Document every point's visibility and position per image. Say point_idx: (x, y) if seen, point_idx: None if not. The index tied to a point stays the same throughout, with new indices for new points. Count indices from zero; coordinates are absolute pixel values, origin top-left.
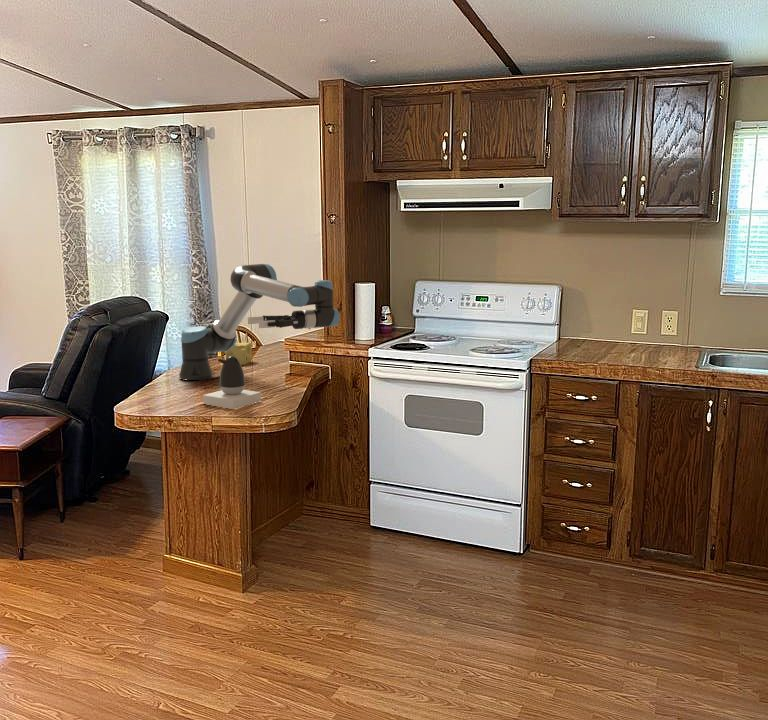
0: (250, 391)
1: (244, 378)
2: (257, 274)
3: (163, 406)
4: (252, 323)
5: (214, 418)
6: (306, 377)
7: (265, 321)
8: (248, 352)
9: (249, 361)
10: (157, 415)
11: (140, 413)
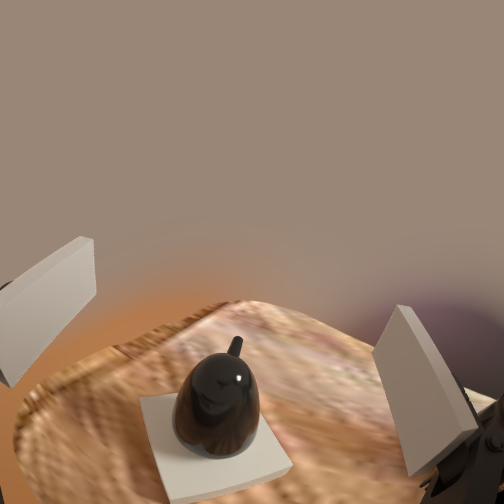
0: (204, 485)
1: (187, 437)
2: None
3: (271, 346)
4: (383, 377)
5: (114, 352)
6: None
7: (44, 263)
8: None
9: None
10: (210, 318)
11: (241, 311)
